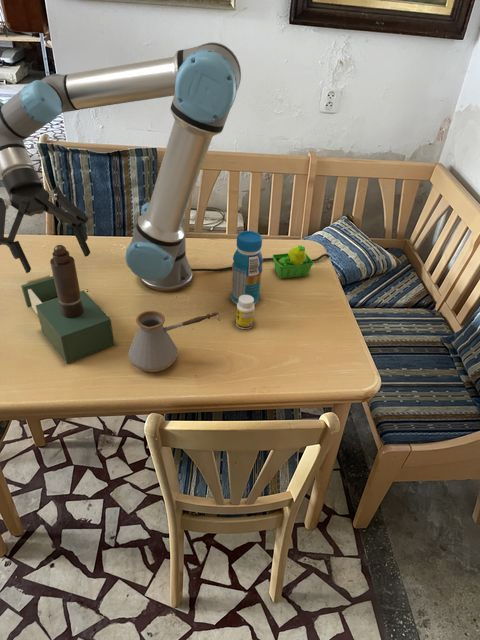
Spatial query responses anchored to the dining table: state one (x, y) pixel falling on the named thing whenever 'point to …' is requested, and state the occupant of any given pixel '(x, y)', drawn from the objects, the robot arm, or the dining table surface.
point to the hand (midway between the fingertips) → (59, 262)
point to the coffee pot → (156, 341)
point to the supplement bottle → (245, 312)
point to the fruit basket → (292, 263)
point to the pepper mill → (66, 283)
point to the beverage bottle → (247, 266)
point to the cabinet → (76, 329)
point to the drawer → (39, 291)
